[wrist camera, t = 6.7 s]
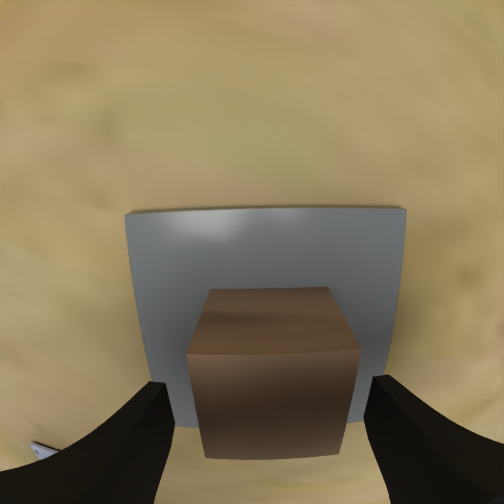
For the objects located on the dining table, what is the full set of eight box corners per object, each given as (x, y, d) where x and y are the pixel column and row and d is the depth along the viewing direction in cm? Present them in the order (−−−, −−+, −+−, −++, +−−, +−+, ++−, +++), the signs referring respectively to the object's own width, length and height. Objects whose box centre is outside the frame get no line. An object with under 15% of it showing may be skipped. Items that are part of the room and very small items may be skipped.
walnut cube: (319, 378, 14) (338, 453, 10) (218, 381, 15) (205, 458, 10) (327, 286, 13) (361, 348, 8) (210, 289, 13) (186, 354, 8)
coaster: (367, 411, 16) (371, 419, 15) (167, 415, 16) (164, 424, 16) (398, 206, 13) (406, 209, 12) (131, 211, 13) (124, 214, 12)
